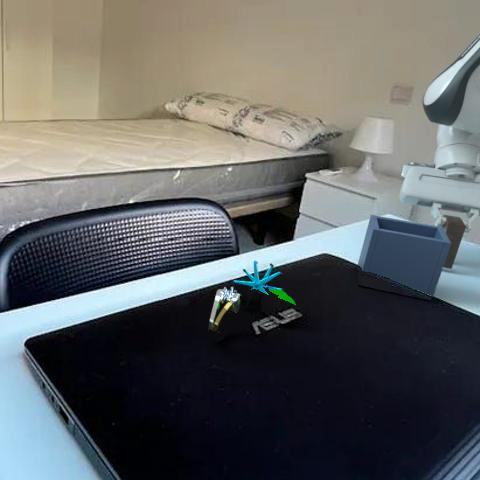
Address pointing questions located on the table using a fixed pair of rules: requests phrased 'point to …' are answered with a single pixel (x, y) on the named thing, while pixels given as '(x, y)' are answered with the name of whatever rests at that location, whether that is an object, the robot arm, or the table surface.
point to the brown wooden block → (453, 237)
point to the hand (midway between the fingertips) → (452, 229)
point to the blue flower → (260, 284)
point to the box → (405, 252)
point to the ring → (232, 302)
